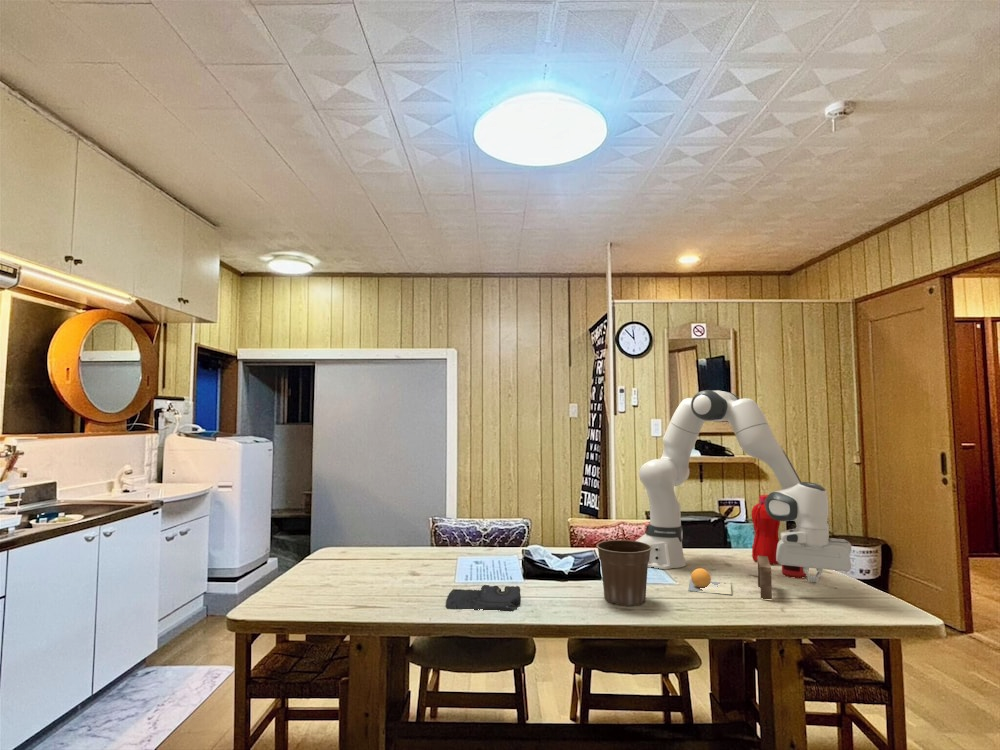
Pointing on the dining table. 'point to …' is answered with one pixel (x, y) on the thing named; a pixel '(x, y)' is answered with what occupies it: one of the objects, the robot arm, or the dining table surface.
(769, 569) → the wooden staple shape
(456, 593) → the dark slate chunk
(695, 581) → the ball
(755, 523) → the water bottle
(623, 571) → the plant pot
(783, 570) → the canned food
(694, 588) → the flat gray rectangular panel
